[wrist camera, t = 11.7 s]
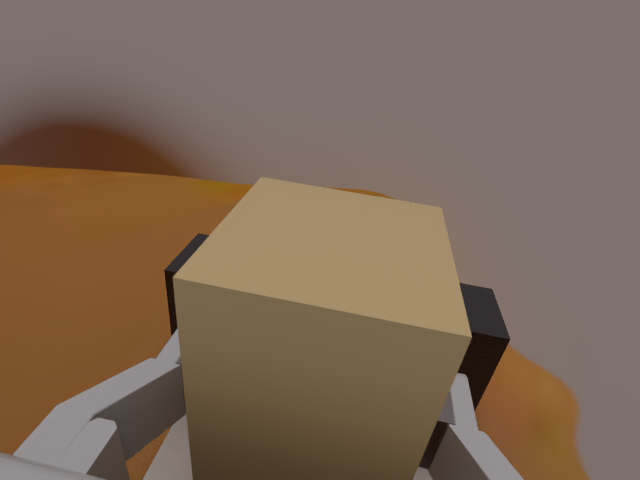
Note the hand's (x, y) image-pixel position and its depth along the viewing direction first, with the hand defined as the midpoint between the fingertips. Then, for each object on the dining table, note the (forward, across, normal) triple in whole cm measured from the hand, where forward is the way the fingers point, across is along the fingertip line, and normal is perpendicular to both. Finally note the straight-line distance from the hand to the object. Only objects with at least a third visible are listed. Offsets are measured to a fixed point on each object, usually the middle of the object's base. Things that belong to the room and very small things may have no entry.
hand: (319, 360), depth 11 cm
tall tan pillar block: (-1, 0, +6) cm, 6 cm away
